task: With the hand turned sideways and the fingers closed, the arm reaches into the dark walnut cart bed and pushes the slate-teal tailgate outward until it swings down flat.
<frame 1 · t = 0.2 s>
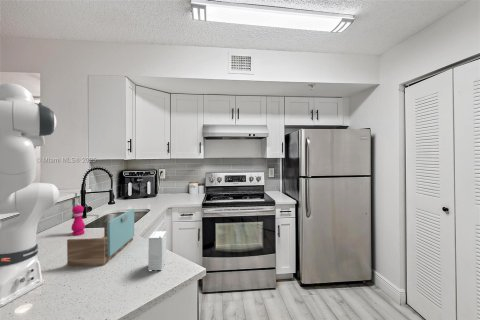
hand: (18, 153, 113), 51 cm above the worktop, tool tilted 20°, fingers open, 8 cm apart
skincare box: (157, 267, 100), on the worktop
cart bed: (104, 251, 117), on the worktop
tailgate: (123, 229, 118), point 11 cm above the worktop, hinge at 0.0°
pepper mill: (78, 234, 145), on the worktop
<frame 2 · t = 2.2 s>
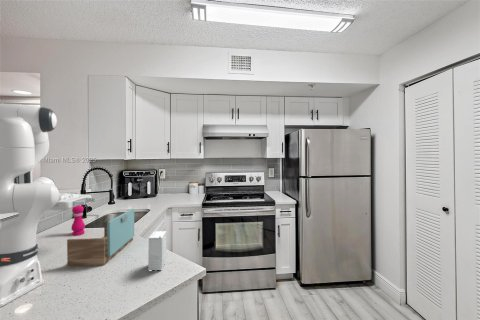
hand: (90, 201, 119), 26 cm above the worktop, tool horizontal, fingers open, 7 cm apart
nothing on the worktop moved.
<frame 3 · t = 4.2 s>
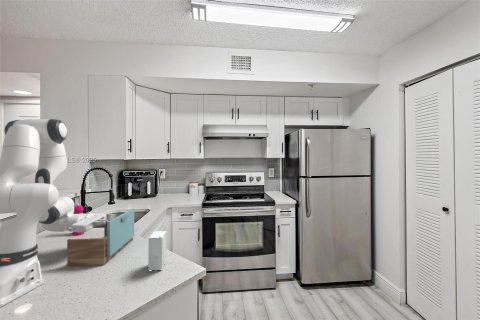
hand: (106, 222, 118), 15 cm above the worktop, tool horizontal, fingers closed
nothing on the worktop moved.
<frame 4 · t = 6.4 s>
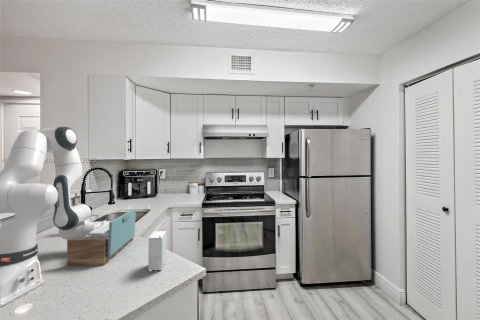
hand: (122, 229, 118), 11 cm above the worktop, tool horizontal, fingers closed, pressing on tailgate
tailgate: (124, 229, 118), point 11 cm above the worktop, hinge at 3.8°, touching gripper
everything else where it was.
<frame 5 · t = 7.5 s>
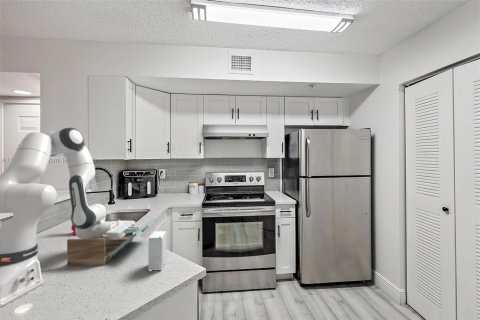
hand: (137, 229, 119), 11 cm above the worktop, tool horizontal, fingers closed
tailgate: (135, 235, 118), point 8 cm above the worktop, hinge at 51.1°, touching gripper
everything else where it was.
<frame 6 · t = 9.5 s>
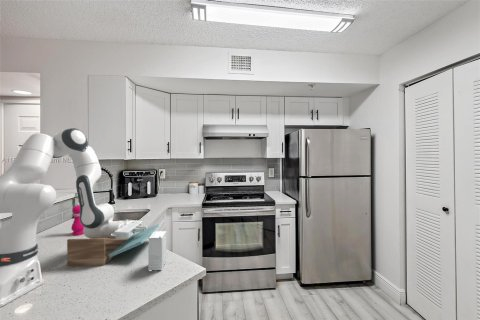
hand: (145, 228, 119), 11 cm above the worktop, tool horizontal, fingers closed
tailgate: (137, 239, 118), point 6 cm above the worktop, hinge at 68.0°
everything else where it was.
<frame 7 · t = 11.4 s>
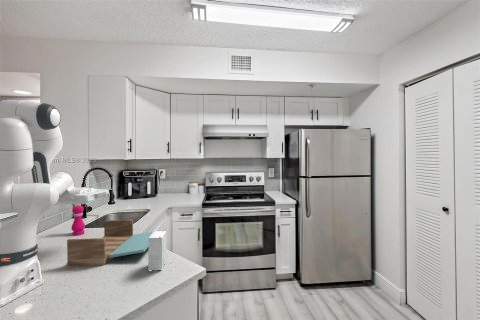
hand: (108, 195, 119), 29 cm above the worktop, tool horizontal, fingers closed
tailgate: (138, 243, 118), point 4 cm above the worktop, hinge at 82.3°
everything else where it was.
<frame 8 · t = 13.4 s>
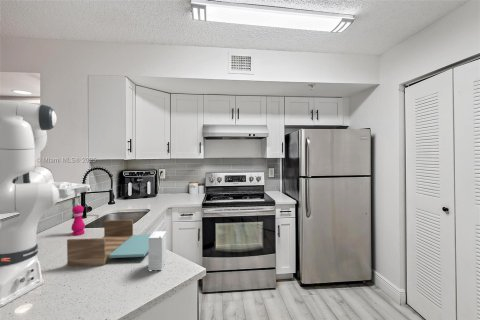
hand: (88, 189, 121), 32 cm above the worktop, tool horizontal, fingers closed
tailgate: (138, 245, 118), point 3 cm above the worktop, hinge at 90.1°
everything else where it was.
at the end: tailgate at +90° (first picture: +0°) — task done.
